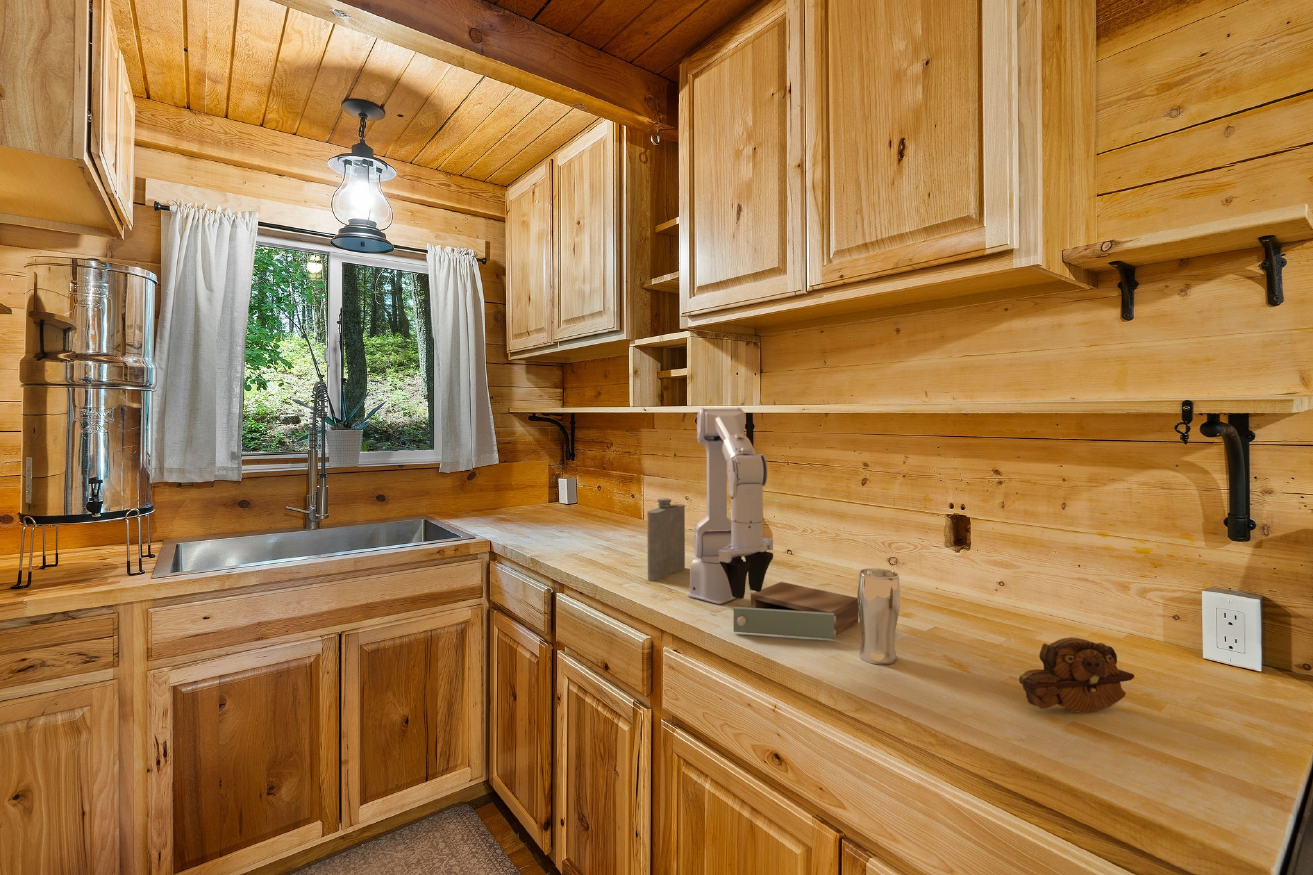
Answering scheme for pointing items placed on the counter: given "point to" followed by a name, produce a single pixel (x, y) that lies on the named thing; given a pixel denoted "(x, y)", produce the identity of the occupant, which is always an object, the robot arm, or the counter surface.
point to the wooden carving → (1075, 676)
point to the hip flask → (665, 539)
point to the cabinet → (808, 602)
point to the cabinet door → (784, 622)
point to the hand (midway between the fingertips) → (746, 594)
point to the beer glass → (878, 614)
